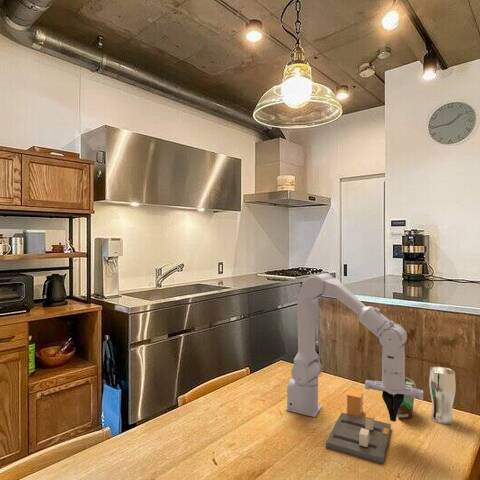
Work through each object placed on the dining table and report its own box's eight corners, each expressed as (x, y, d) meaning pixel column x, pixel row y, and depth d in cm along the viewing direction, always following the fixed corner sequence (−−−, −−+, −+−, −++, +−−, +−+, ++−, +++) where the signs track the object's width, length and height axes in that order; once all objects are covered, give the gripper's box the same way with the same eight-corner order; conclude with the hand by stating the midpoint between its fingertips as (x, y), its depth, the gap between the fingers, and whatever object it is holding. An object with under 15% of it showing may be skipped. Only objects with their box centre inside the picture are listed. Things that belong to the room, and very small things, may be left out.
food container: (422, 424, 105) (422, 390, 105) (399, 422, 106) (400, 388, 106) (410, 404, 117) (410, 374, 117) (390, 403, 118) (391, 373, 118)
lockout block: (347, 413, 111) (347, 394, 111) (349, 408, 115) (349, 390, 114) (360, 417, 109) (360, 397, 109) (362, 411, 113) (362, 392, 113)
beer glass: (452, 416, 110) (452, 367, 110) (458, 427, 103) (458, 376, 103) (427, 412, 112) (427, 365, 112) (431, 423, 106) (431, 373, 105)
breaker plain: (359, 445, 91) (359, 433, 91) (361, 439, 94) (361, 428, 94) (367, 447, 90) (367, 435, 90) (369, 441, 93) (369, 430, 93)
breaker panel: (325, 447, 93) (325, 441, 93) (341, 417, 109) (341, 411, 109) (382, 464, 86) (382, 457, 86) (390, 429, 102) (390, 423, 102)
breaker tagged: (365, 428, 99) (365, 416, 99) (367, 423, 102) (367, 412, 102) (372, 430, 98) (372, 418, 98) (374, 425, 101) (374, 413, 101)
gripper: (363, 370, 97) (363, 419, 97) (422, 380, 90) (422, 433, 90) (367, 362, 103) (367, 408, 103) (423, 371, 96) (423, 421, 96)
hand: (393, 419), depth 97 cm, fingers closed
